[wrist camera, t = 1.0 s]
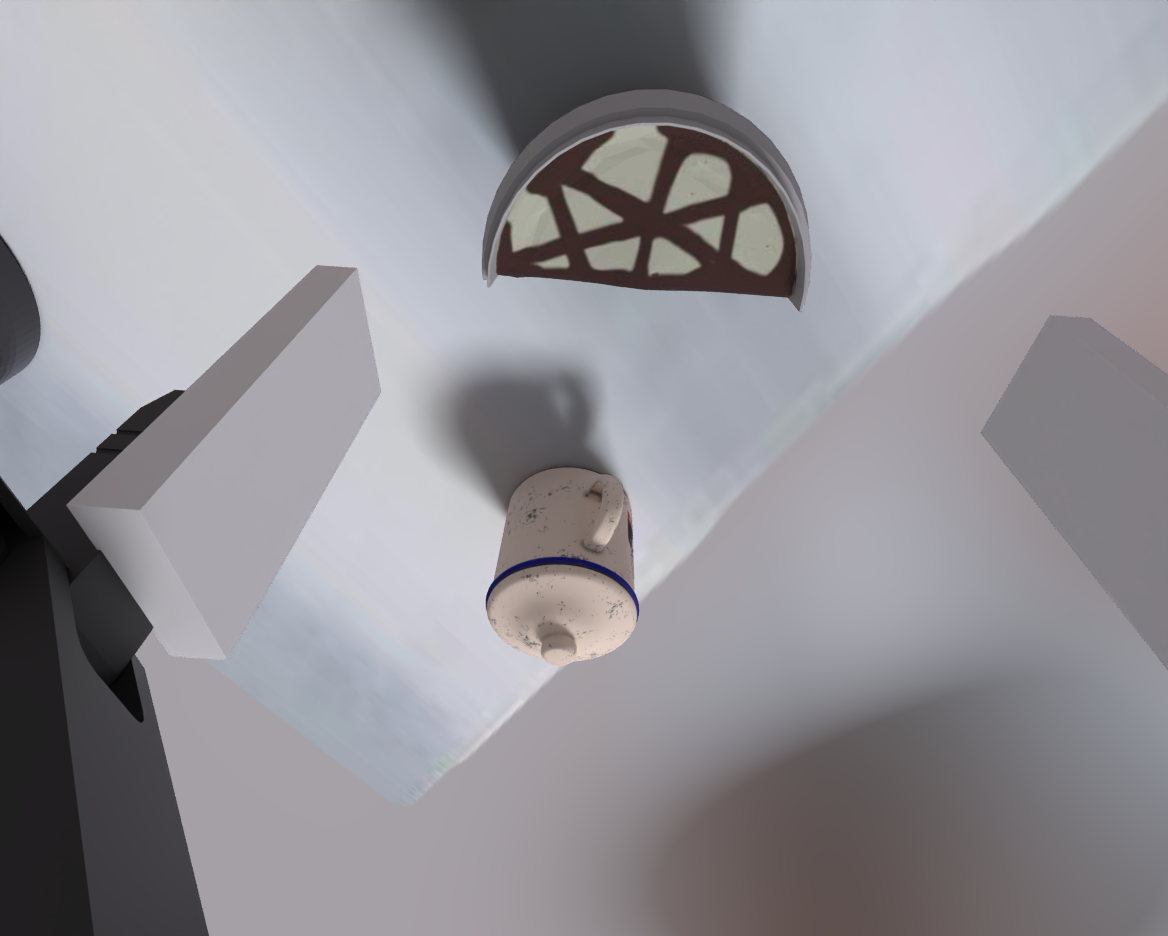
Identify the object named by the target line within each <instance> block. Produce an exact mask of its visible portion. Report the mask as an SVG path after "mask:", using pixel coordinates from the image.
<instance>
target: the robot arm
mask: <svg viewBox="0 0 1168 936" xmlns="http://www.w3.org/2000/svg"><path fill="white" fill-rule="evenodd" d="M39 341H40V318H39V313H38V308H37V305H36V301H35V298H34V296H33V293H32V290H31V288H30V286H29V284H28V281H27V279H26V277H25V276H24V274H23V272H22V270H21V268H20V267H19V265H18V263H17V262H16V260H15V258H14V257H13V255H12V254H11V252H10V251H9V249H8V248H7V247H6V245H5V244H4V243H3V241H2V240H1V239H0V385H1V384H2V383H4V382H5V381H7V380H8V379H10V378H11V377H13V376H14V375H16V374H17V373H19V372H20V371H22V370H23V369H24V368H25V367H26V366H27V365H28V364H29V363H30V362H31V361H32V359H33V357H34V356H35V354H36V351H37V349H38V346H39ZM380 393H381V388H380V383H379V378H378V373H377V368H376V363H375V357H374V352H373V347H372V342H371V337H370V332H369V327H368V321H367V316H366V311H365V306H364V301H363V296H362V291H361V286H360V280H359V275H358V270H357V268H348V267H333V266H319V265H317V266H316V267H315V268H314V269H312V270H311V271H310V272H309V273H308V274H307V275H306V276H305V277H304V278H303V279H302V280H301V281H300V282H299V283H298V284H297V285H296V286H295V287H294V288H293V289H292V290H291V291H289V292H288V293H287V294H286V295H285V296H284V297H283V298H282V299H281V300H280V301H279V302H278V303H277V304H276V305H275V306H274V307H273V308H272V309H271V310H270V311H269V312H268V313H266V314H265V315H264V316H263V317H262V318H261V319H260V320H259V321H258V322H257V323H256V324H255V325H254V326H253V327H252V328H251V329H250V330H249V331H248V332H247V333H246V334H245V335H243V336H242V337H241V338H240V339H239V340H238V341H237V342H236V343H235V344H234V345H233V346H232V347H231V348H230V349H229V350H228V351H227V352H226V353H225V354H224V355H223V356H221V357H220V358H219V359H218V360H217V361H216V362H215V363H214V364H213V365H212V366H211V367H210V368H209V369H208V370H207V371H206V372H205V373H204V374H203V375H202V376H201V377H200V378H198V379H197V380H196V381H195V382H194V383H193V384H192V385H191V386H190V387H189V388H188V389H187V390H186V391H183V390H174V391H172V392H170V393H168V394H166V395H164V396H162V397H160V398H158V399H157V400H155V401H153V402H151V403H149V404H147V405H145V406H143V407H141V408H140V409H139V410H138V411H137V412H135V413H134V414H133V415H132V416H131V417H130V418H129V419H128V420H127V421H125V422H124V423H123V424H122V425H121V426H120V427H119V428H118V429H117V434H111V435H110V436H109V437H108V438H107V439H106V440H104V441H103V442H102V443H101V444H100V445H99V446H98V447H97V448H96V449H97V451H96V453H90V454H89V455H88V456H87V457H86V458H84V459H83V460H82V461H81V462H80V463H79V464H78V465H77V466H76V467H74V468H73V469H72V470H71V471H70V472H69V473H68V474H67V475H66V476H64V477H63V478H62V479H61V480H60V481H59V482H58V483H57V484H56V485H55V486H53V487H52V488H51V489H50V490H49V491H48V492H47V493H46V494H45V495H43V496H42V497H41V498H40V499H39V500H38V501H37V502H36V503H35V504H33V505H32V506H31V507H30V508H29V509H28V510H27V511H26V510H25V508H24V507H23V506H22V504H21V503H20V502H19V500H18V499H17V498H16V496H15V495H14V494H13V492H12V491H11V490H10V488H9V487H8V486H7V484H6V483H5V482H4V480H3V479H2V478H1V476H0V936H209V934H208V930H207V926H206V922H205V918H204V913H203V909H202V905H201V901H200V897H199V893H198V889H197V884H196V880H195V876H194V872H193V868H192V864H191V860H190V855H189V852H188V847H187V843H186V839H185V835H184V831H183V826H182V822H181V818H180V814H179V810H178V806H177V801H176V797H175V793H174V789H173V785H172V781H171V776H170V772H169V768H168V764H167V760H166V756H165V752H164V747H163V743H162V740H161V735H160V731H159V727H158V722H157V719H156V714H155V710H154V706H153V702H152V698H151V693H150V689H149V685H148V681H147V677H146V673H145V669H144V667H143V666H142V664H141V663H140V661H139V660H138V658H137V657H136V655H135V653H136V652H137V650H138V649H139V647H140V646H141V645H142V643H143V642H144V640H145V639H146V638H147V636H148V635H149V633H150V632H151V631H152V630H153V632H154V633H155V635H156V636H157V637H158V639H159V640H160V642H161V643H162V645H163V646H164V648H165V649H166V650H167V652H168V653H169V655H170V656H177V657H191V658H205V659H220V660H228V659H229V657H230V655H231V653H232V652H233V650H234V648H235V646H236V645H237V643H238V641H239V639H240V638H241V636H242V634H243V632H244V631H245V629H246V627H247V625H248V624H249V622H250V620H251V618H252V617H253V615H254V613H255V611H256V610H257V608H258V606H259V604H260V603H261V601H262V599H263V597H264V596H265V594H266V592H267V591H268V589H269V587H270V585H271V584H272V582H273V580H274V578H275V577H276V575H277V573H278V571H279V570H280V568H281V566H282V564H283V563H284V561H285V559H286V557H287V556H288V554H289V552H290V550H291V549H292V547H293V545H294V543H295V542H296V540H297V538H298V536H299V535H300V533H301V531H302V529H303V528H304V526H305V524H306V522H307V521H308V519H309V517H310V515H311V514H312V512H313V510H314V508H315V507H316V505H317V503H318V501H319V500H320V498H321V496H322V494H323V493H324V491H325V489H326V487H327V486H328V484H329V482H330V480H331V479H332V477H333V475H334V473H335V472H336V470H337V468H338V466H339V465H340V463H341V461H342V460H343V458H344V456H345V454H346V453H347V451H348V449H349V447H350V446H351V444H352V442H353V440H354V439H355V437H356V435H357V433H358V432H359V430H360V428H361V426H362V425H363V423H364V421H365V419H366V418H367V416H368V414H369V412H370V411H371V409H372V407H373V405H374V404H375V402H376V400H377V398H378V397H379V395H380ZM981 434H982V436H983V437H984V438H985V439H986V441H987V442H988V443H989V445H990V446H991V447H992V448H993V450H994V451H995V452H996V453H997V455H998V456H999V457H1000V458H1001V460H1002V461H1003V462H1004V464H1005V465H1006V466H1007V467H1008V469H1009V470H1010V471H1011V472H1012V474H1013V475H1014V476H1015V477H1016V479H1017V480H1018V481H1019V483H1020V484H1021V485H1022V486H1023V488H1024V489H1025V490H1026V491H1027V492H1028V494H1029V495H1030V496H1031V498H1032V499H1033V500H1034V501H1035V503H1036V504H1037V505H1038V507H1039V508H1040V509H1041V510H1042V512H1043V513H1044V514H1045V515H1046V516H1047V518H1048V519H1049V520H1050V522H1051V523H1052V524H1053V525H1054V527H1055V528H1056V529H1057V531H1058V532H1059V533H1060V534H1061V536H1062V537H1063V538H1064V539H1065V541H1066V542H1067V543H1068V544H1069V545H1070V547H1071V548H1072V550H1073V551H1074V552H1075V553H1076V554H1077V556H1078V557H1079V558H1080V560H1081V561H1082V562H1083V563H1084V565H1085V566H1086V567H1087V568H1088V570H1089V571H1090V572H1091V574H1092V575H1093V576H1094V577H1095V579H1096V580H1097V581H1098V582H1099V584H1100V585H1101V586H1102V587H1103V589H1104V590H1105V591H1106V593H1107V594H1108V595H1109V596H1110V598H1111V599H1112V600H1113V601H1114V603H1115V604H1116V605H1117V606H1118V608H1119V609H1120V610H1121V611H1122V613H1123V614H1124V615H1125V616H1126V618H1127V619H1128V620H1129V621H1130V623H1131V624H1132V625H1133V627H1134V628H1135V629H1136V630H1137V632H1138V633H1139V634H1140V635H1141V636H1142V638H1143V639H1144V641H1145V642H1146V643H1147V644H1148V645H1149V647H1150V648H1151V649H1152V651H1153V652H1154V653H1155V654H1156V656H1157V657H1158V658H1159V660H1160V661H1161V662H1162V663H1163V665H1164V666H1165V667H1166V668H1167V670H1168V374H1167V373H1165V372H1164V371H1162V370H1161V369H1160V368H1158V367H1157V366H1156V365H1154V364H1153V363H1152V362H1150V361H1149V360H1147V359H1146V358H1145V357H1143V356H1142V355H1140V354H1139V353H1138V352H1136V351H1135V350H1134V349H1132V348H1131V347H1129V346H1128V345H1127V344H1125V343H1124V342H1122V341H1121V340H1120V339H1118V338H1117V337H1116V336H1114V335H1113V334H1111V333H1110V332H1109V331H1107V330H1106V329H1105V328H1103V327H1102V326H1101V325H1099V324H1098V323H1096V322H1095V321H1094V320H1092V319H1091V318H1082V317H1066V316H1052V315H1050V316H1049V318H1048V319H1047V321H1046V322H1045V324H1044V326H1043V328H1042V329H1041V331H1040V333H1039V335H1038V336H1037V338H1036V340H1035V341H1034V343H1033V345H1032V346H1031V348H1030V350H1029V351H1028V353H1027V355H1026V356H1025V358H1024V360H1023V361H1022V363H1021V365H1020V367H1019V368H1018V370H1017V372H1016V373H1015V375H1014V377H1013V378H1012V380H1011V382H1010V384H1009V385H1008V387H1007V389H1006V390H1005V392H1004V394H1003V395H1002V397H1001V399H1000V400H999V402H998V404H997V406H996V407H995V409H994V411H993V412H992V414H991V416H990V417H989V419H988V421H987V422H986V424H985V426H984V428H983V429H982V431H981Z"/></svg>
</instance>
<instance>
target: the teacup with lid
mask: <svg viewBox="0 0 1168 936" xmlns="http://www.w3.org/2000/svg"><path fill="white" fill-rule="evenodd" d="M486 610H487V615H488V619H489V621H490V624H491V625H492V627H493V629H494V630H495V632H496V633H497V634H498V636H499V637H500V638H501V639H502V640H504V641H505V642H506V643H507V644H509V645H510V646H512V647H513V648H515V649H517V650H519V651H521V652H523V653H525V654H528V655H531V656H534V657H537V658H541V659H544V660H545V661H546V662H548V663H550V664H552V665H558V666H562V665H567V664H569V663H571V662H572V661H581V660H587V659H592V658H596V657H599V656H602V655H605V654H607V653H609V652H611V651H613V650H614V649H616V648H617V647H619V646H620V645H621V644H623V643H624V642H625V641H626V640H627V639H628V637H629V636H630V635H631V633H632V631H633V630H634V627H635V625H636V622H637V619H638V616H639V603H638V600H637V597H636V594H635V593H634V563H633V530H632V510H631V506H630V503H629V500H628V499H627V497H626V495H625V494H624V492H623V487H622V484H621V482H620V481H619V479H617V478H616V477H613V476H611V475H607V474H602V475H601V474H598V473H596V472H593V471H590V470H586V469H581V468H572V467H563V468H554V469H549V470H545V471H542V472H539V473H537V474H535V475H533V476H531V477H529V478H528V479H526V480H525V481H524V482H523V483H521V484H520V486H519V487H518V488H517V489H516V490H515V492H514V493H513V495H512V497H511V500H510V503H509V507H508V512H507V517H506V522H505V527H504V532H503V537H502V542H501V547H500V552H499V557H498V562H497V567H496V572H495V577H494V581H493V583H492V584H491V586H490V587H489V590H488V592H487V596H486Z"/></svg>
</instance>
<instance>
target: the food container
mask: <svg viewBox="0 0 1168 936" xmlns="http://www.w3.org/2000/svg"><path fill="white" fill-rule="evenodd" d="M810 270H811V247H810V236H809V227H808V219H807V212H806V209H805V205H804V202H803V198H802V194H801V191H800V187H799V185H798V183H797V181H796V179H795V177H794V175H793V173H792V171H791V169H790V167H789V165H788V163H787V161H786V160H785V159H784V157H783V156H782V155H781V153H780V152H779V150H778V149H777V148H776V146H775V145H774V144H773V142H772V141H771V140H770V139H769V138H768V137H767V136H766V135H765V134H764V133H763V132H762V131H760V130H759V129H758V128H757V127H756V126H755V125H754V124H753V123H752V122H751V121H750V120H748V119H746V118H745V117H743V116H742V115H740V114H738V113H737V112H735V111H734V110H732V109H730V108H729V107H727V106H725V105H723V104H721V103H718V102H715V101H713V100H710V99H708V98H705V97H702V96H700V95H697V94H691V93H686V92H680V91H674V90H669V89H647V90H632V91H627V92H622V93H617V94H612V95H607V96H604V97H602V98H599V99H597V100H594V101H592V102H589V103H587V104H584V105H581V106H579V107H577V108H575V109H574V110H572V111H570V112H569V113H567V114H566V115H564V116H562V117H561V118H559V119H557V120H556V121H554V122H553V123H551V124H550V125H549V126H548V127H547V128H546V129H544V130H543V131H542V132H541V133H540V134H539V135H538V136H536V137H535V138H534V139H533V140H532V141H531V142H530V143H529V144H528V145H527V146H526V148H525V149H524V150H523V151H522V153H521V154H520V155H519V156H518V158H517V159H516V160H515V161H514V162H513V164H512V165H511V167H510V168H509V170H508V172H507V174H506V175H505V177H504V179H503V181H502V183H501V184H500V186H499V188H498V190H497V192H496V195H495V198H494V200H493V203H492V206H491V208H490V211H489V214H488V217H487V223H486V228H485V233H484V238H483V251H482V273H483V280H487V287H490V286H491V285H492V283H493V282H494V280H495V279H496V277H497V276H498V275H503V276H512V277H517V278H518V277H541V278H552V279H563V280H573V281H582V282H591V283H599V284H606V285H612V286H619V287H627V288H635V289H643V290H671V291H707V292H724V293H737V294H750V295H763V296H776V297H788V298H789V299H790V301H791V302H792V303H793V305H794V306H795V307H796V308H797V310H798V311H799V312H802V308H803V305H804V304H805V300H806V296H807V291H808V287H809V283H810Z"/></svg>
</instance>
